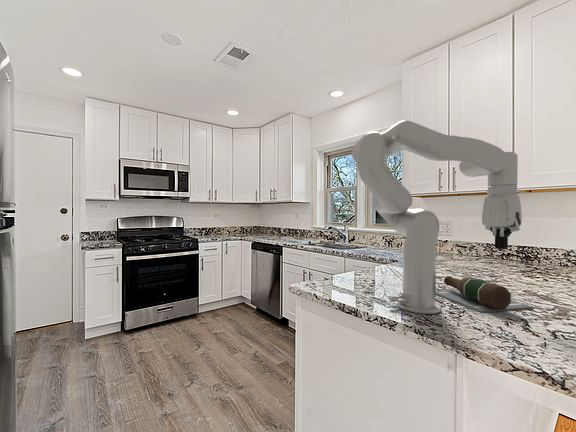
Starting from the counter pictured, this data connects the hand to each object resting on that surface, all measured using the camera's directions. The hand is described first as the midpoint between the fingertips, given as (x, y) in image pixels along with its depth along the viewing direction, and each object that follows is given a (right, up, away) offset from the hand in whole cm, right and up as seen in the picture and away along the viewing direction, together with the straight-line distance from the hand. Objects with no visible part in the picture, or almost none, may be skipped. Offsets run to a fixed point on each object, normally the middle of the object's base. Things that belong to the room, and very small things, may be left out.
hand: (501, 248), depth 90 cm
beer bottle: (-3, -15, -4) cm, 16 cm away
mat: (-2, -19, +8) cm, 21 cm away
